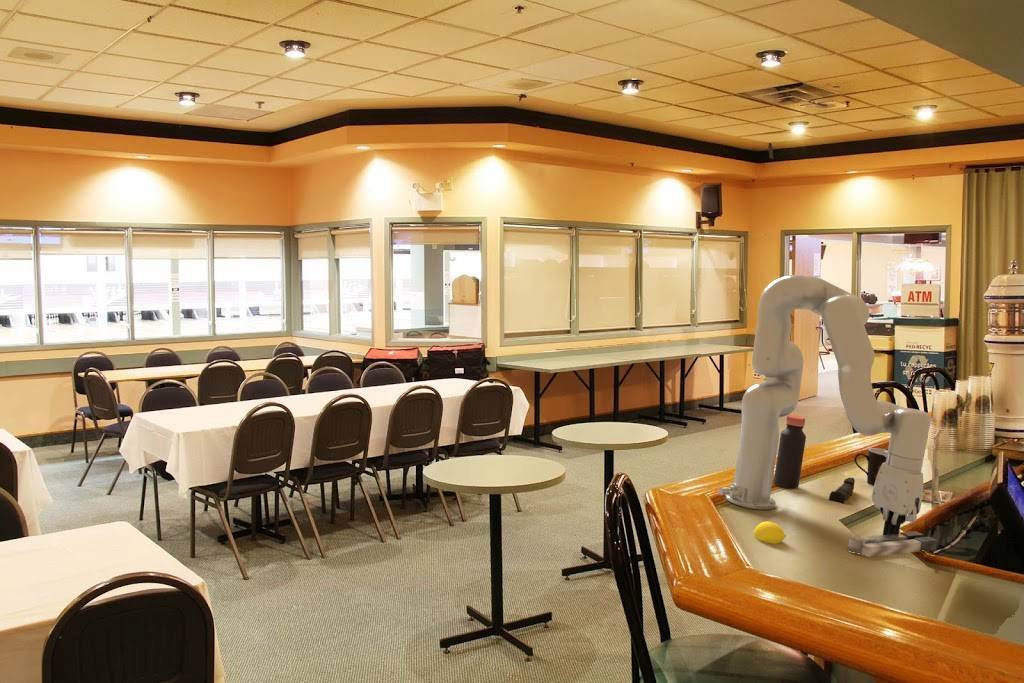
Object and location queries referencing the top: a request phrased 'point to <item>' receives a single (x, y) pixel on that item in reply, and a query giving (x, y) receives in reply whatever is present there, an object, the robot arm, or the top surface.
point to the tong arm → (891, 537)
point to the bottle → (790, 453)
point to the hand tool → (843, 491)
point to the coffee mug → (873, 463)
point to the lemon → (769, 533)
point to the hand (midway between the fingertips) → (889, 538)
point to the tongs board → (892, 546)
